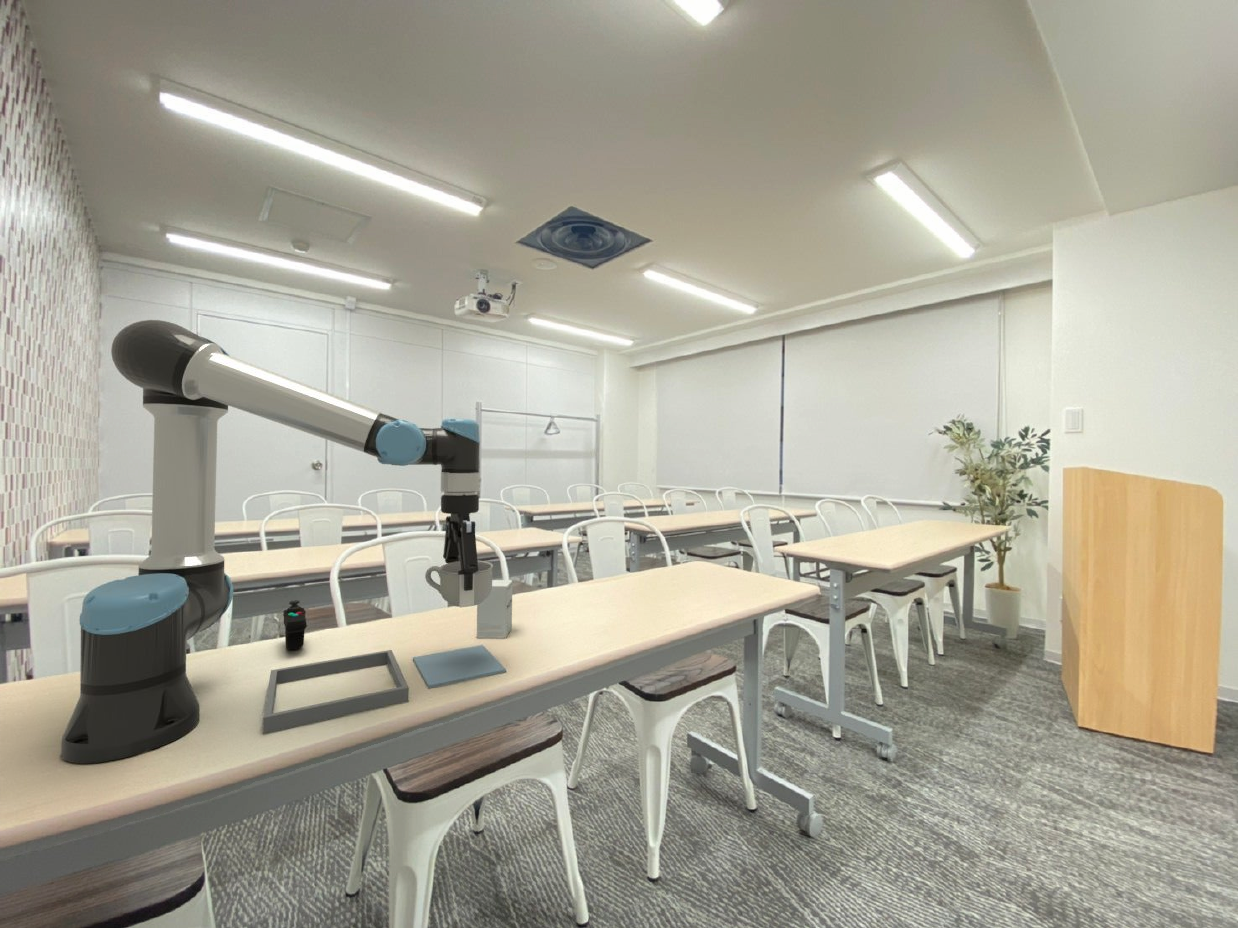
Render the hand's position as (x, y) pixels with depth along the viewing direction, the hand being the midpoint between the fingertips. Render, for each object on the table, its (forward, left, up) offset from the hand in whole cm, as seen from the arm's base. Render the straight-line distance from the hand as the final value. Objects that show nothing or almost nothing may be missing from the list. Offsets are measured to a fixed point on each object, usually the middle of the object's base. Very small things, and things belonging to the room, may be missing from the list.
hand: (459, 599), depth 104 cm
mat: (0, 0, -14) cm, 14 cm away
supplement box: (+13, +16, -14) cm, 25 cm away
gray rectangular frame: (-22, -1, -14) cm, 26 cm away
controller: (-29, +28, -14) cm, 43 cm away
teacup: (0, +1, -1) cm, 2 cm away
